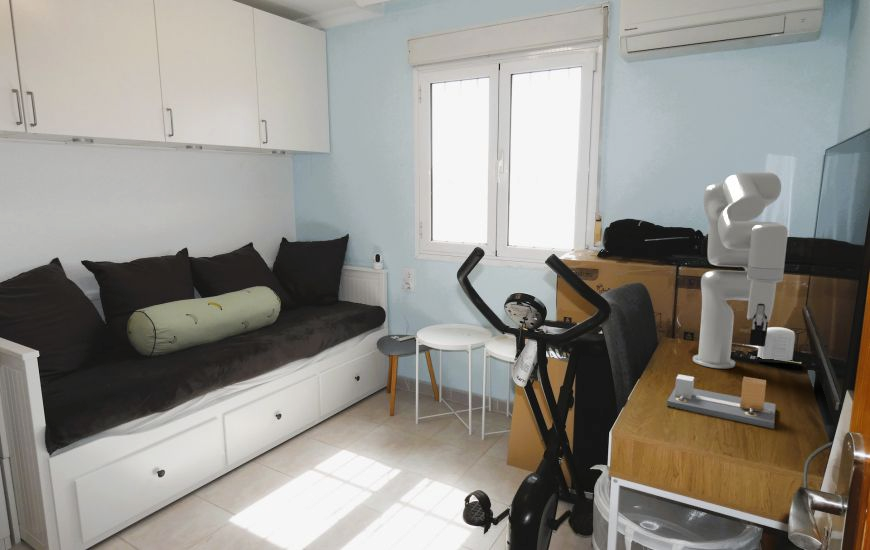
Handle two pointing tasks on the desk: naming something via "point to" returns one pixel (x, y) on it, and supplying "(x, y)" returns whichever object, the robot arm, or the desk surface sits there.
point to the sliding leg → (753, 394)
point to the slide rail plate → (717, 404)
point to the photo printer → (778, 344)
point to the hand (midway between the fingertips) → (758, 340)
